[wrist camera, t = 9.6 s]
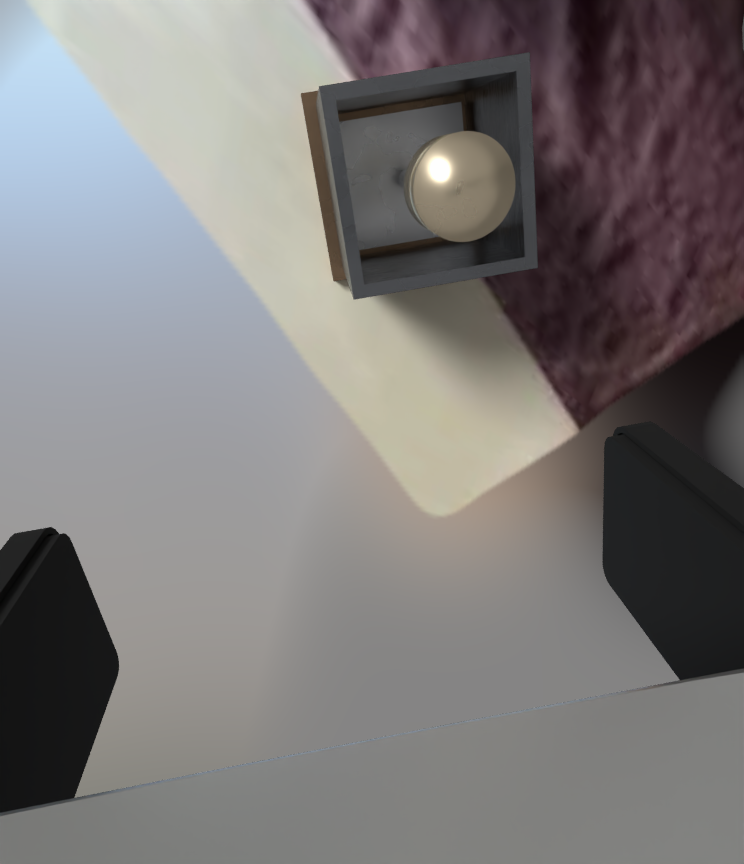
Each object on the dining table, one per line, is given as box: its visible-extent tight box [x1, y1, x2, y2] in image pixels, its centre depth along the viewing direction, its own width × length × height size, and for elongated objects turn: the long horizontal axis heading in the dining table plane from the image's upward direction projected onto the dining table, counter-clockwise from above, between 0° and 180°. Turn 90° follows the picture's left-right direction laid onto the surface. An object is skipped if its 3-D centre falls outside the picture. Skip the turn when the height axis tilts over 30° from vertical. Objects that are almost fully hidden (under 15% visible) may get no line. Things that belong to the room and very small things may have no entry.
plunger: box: [339, 102, 515, 250], centre depth 34 cm, size 8×8×17 cm
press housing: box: [301, 52, 538, 299], centre depth 37 cm, size 12×12×12 cm
